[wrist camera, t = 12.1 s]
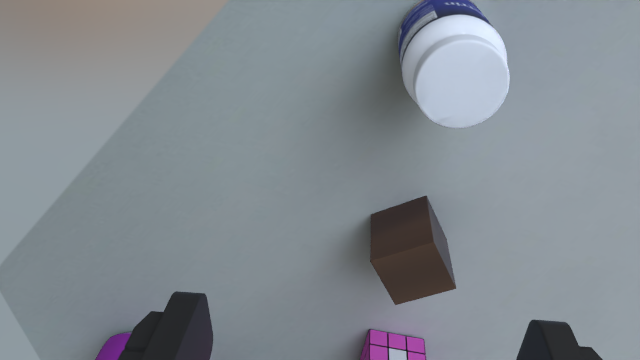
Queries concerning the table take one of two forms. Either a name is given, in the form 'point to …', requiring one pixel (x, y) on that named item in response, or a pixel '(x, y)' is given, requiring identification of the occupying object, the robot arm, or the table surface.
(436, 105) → the pill bottle
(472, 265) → the table surface
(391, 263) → the walnut block
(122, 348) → the beverage can
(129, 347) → the robot arm
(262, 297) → the table surface
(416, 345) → the puzzle toy
